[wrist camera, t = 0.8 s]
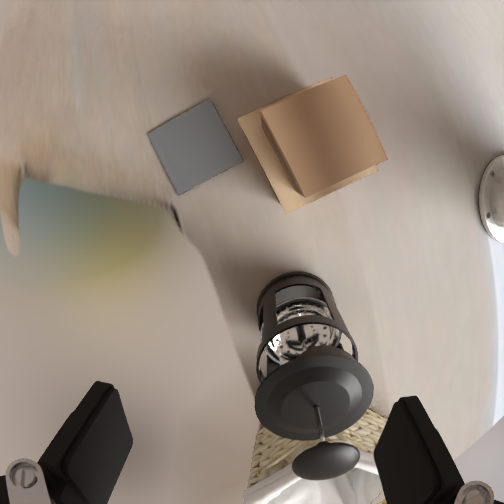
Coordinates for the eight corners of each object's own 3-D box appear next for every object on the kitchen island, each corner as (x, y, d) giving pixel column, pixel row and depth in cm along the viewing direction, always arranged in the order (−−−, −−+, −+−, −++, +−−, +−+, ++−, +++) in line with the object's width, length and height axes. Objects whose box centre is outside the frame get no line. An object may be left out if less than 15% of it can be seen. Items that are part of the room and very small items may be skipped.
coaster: (210, 99, 31) (209, 98, 30) (243, 161, 32) (243, 160, 32) (148, 134, 32) (147, 134, 32) (179, 195, 34) (178, 195, 33)
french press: (236, 309, 37) (206, 468, 15) (289, 251, 35) (326, 384, 13) (306, 360, 39) (333, 514, 16) (358, 311, 37) (437, 451, 14)
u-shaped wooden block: (325, 98, 23) (346, 74, 16) (356, 161, 24) (387, 159, 18) (261, 126, 24) (260, 110, 17) (294, 190, 25) (305, 197, 18)
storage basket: (410, 424, 42) (438, 485, 28) (345, 472, 46) (357, 532, 32) (313, 371, 39) (330, 454, 25) (243, 433, 43) (237, 508, 29)
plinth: (316, 97, 30) (332, 77, 23) (352, 169, 32) (378, 170, 24) (243, 130, 32) (236, 118, 24) (280, 204, 34) (285, 214, 26)
